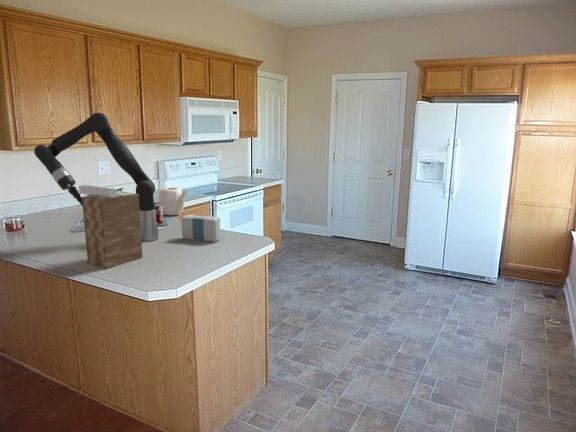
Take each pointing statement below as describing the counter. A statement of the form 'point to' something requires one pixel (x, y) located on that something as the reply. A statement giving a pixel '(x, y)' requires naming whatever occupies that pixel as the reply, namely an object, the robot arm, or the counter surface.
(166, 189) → the cream teapot
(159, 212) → the soda can
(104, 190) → the bar
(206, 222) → the white banded box
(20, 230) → the counter surface
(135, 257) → the stand
